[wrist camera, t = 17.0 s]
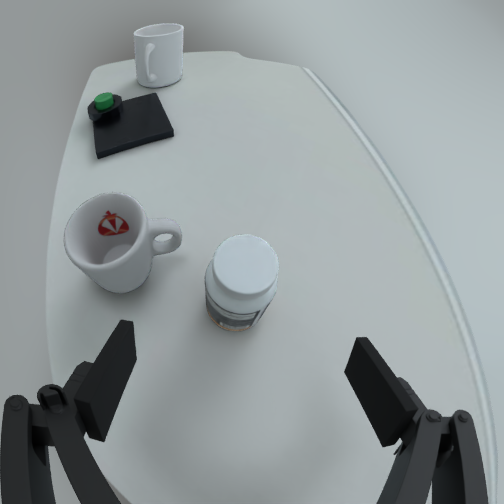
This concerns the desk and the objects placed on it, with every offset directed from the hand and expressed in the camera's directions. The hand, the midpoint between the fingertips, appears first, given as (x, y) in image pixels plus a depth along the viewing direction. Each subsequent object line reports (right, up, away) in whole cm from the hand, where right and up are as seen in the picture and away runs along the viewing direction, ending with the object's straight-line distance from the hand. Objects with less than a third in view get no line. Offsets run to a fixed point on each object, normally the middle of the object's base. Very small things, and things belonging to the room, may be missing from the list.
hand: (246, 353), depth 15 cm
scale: (-20, +26, +24) cm, 41 cm away
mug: (-18, +40, +32) cm, 55 cm away
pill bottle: (-1, 0, +13) cm, 13 cm away
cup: (-12, +4, +14) cm, 19 cm away
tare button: (-24, +30, +23) cm, 45 cm away
